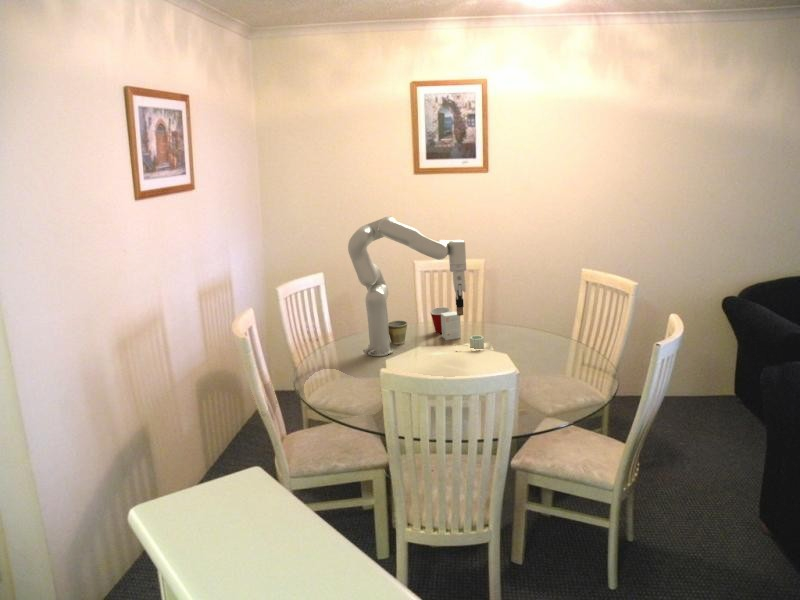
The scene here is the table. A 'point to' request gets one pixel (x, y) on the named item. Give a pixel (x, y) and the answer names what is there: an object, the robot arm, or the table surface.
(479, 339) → the jar
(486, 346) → the trivet
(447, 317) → the small box
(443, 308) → the plastic cup
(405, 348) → the table surface
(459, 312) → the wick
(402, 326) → the ceramic cup
